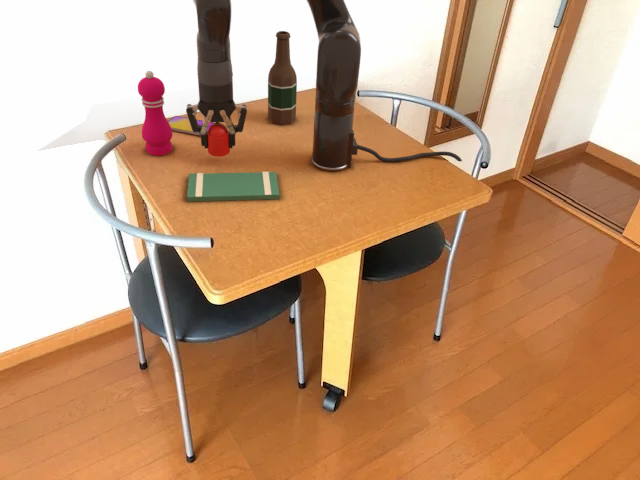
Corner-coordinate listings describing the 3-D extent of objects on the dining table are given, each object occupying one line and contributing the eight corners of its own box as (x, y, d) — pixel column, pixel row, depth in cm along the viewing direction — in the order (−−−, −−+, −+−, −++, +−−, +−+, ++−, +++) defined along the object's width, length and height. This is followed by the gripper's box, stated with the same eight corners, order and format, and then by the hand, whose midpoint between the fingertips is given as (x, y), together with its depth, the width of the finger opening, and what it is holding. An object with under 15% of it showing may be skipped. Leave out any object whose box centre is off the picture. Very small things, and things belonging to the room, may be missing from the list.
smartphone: (175, 115, 152) (225, 124, 149) (175, 117, 152) (225, 127, 149) (161, 126, 146) (213, 136, 143) (162, 128, 147) (213, 138, 143)
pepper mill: (166, 158, 134) (157, 78, 122) (139, 154, 135) (126, 74, 123) (178, 145, 140) (170, 67, 128) (152, 141, 141) (141, 63, 129)
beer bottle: (294, 126, 152) (297, 38, 138) (266, 124, 152) (266, 36, 138) (296, 114, 159) (299, 28, 144) (269, 113, 158) (269, 27, 144)
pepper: (229, 146, 135) (228, 114, 130) (229, 156, 131) (228, 124, 126) (208, 146, 134) (206, 114, 129) (207, 156, 130) (205, 124, 125)
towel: (276, 176, 130) (276, 171, 130) (279, 199, 123) (279, 194, 122) (189, 178, 127) (189, 173, 127) (187, 201, 120) (186, 196, 119)
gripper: (180, 84, 117) (187, 154, 128) (248, 84, 120) (249, 154, 130) (182, 71, 123) (188, 139, 134) (247, 72, 125) (248, 139, 136)
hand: (218, 146), depth 132 cm, fingers closed on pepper, 5 cm apart
